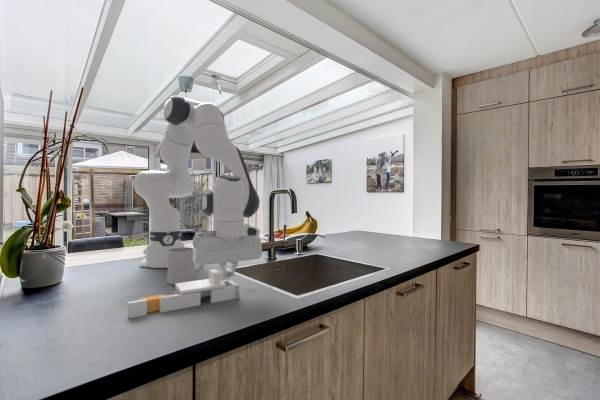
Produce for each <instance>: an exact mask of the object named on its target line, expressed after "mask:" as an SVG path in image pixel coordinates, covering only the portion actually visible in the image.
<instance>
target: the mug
mask: <svg viewBox="0 0 600 400" xmlns="http://www.w3.org/2000/svg"><path fill="white" fill-rule="evenodd" d="M193 250H194V247H181V248H172V249H169V250H168V267H167V276H166V277H167V278H166V279H167V284H169V285H171V286H175V283H182V282H189V281H195V273H200V272H202V271H203V269H204V267H205V265H200V266H199V267H195V263H194V262H193Z"/></svg>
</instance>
